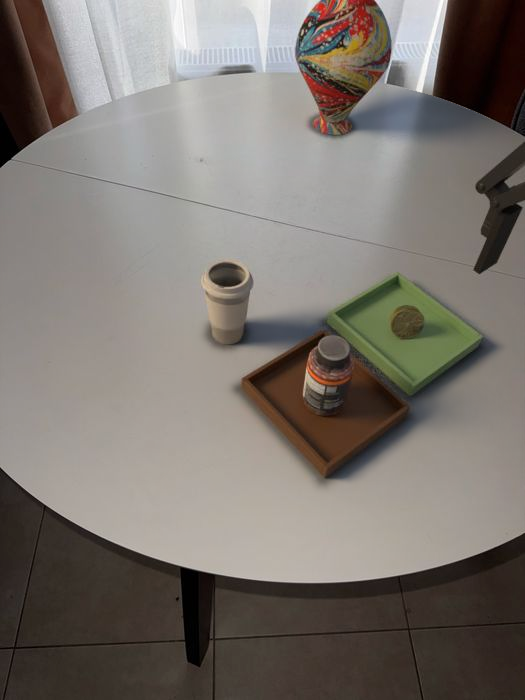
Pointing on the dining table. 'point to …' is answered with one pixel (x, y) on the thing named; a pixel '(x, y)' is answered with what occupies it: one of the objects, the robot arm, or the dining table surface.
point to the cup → (227, 298)
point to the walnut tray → (315, 430)
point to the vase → (342, 57)
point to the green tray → (404, 354)
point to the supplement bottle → (328, 376)
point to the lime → (406, 321)
